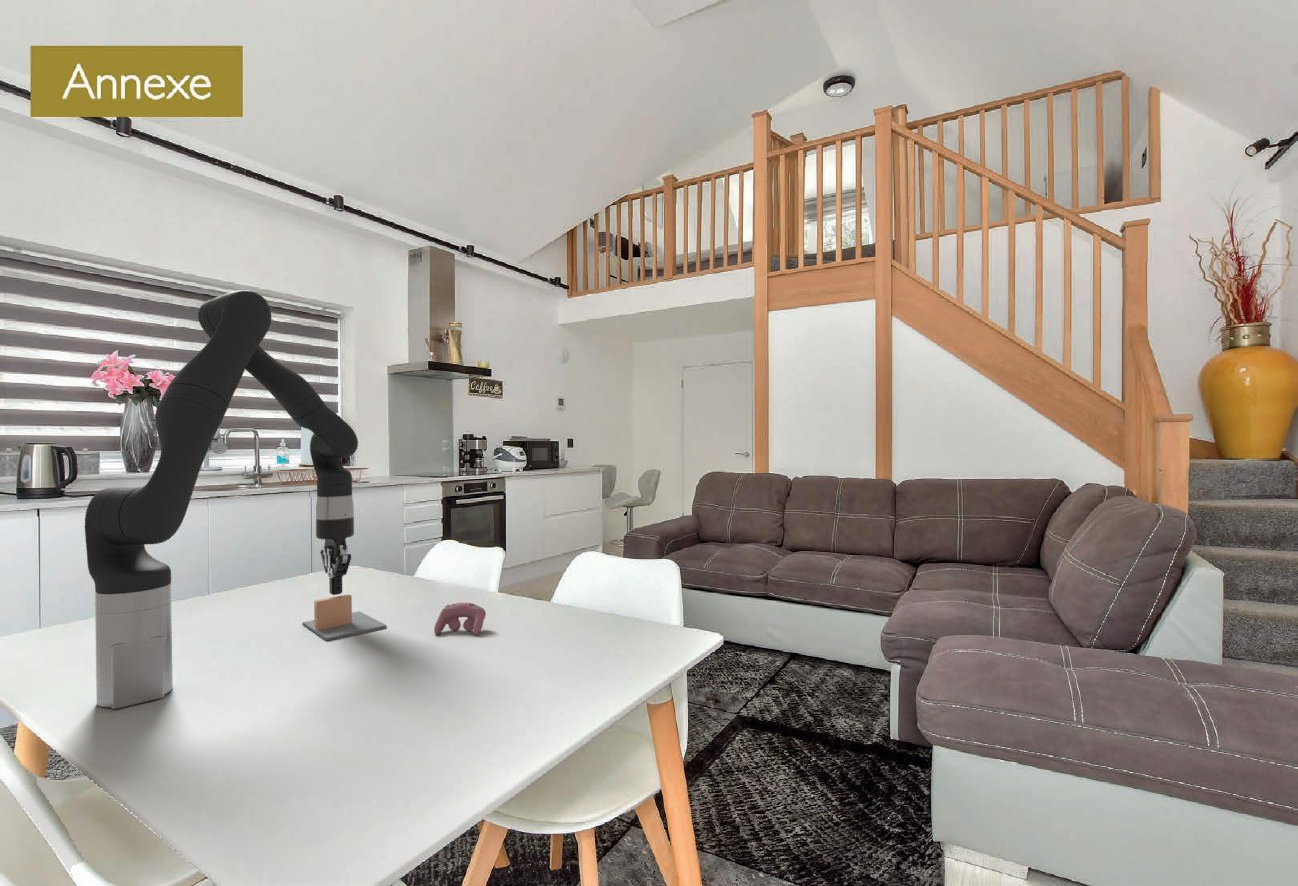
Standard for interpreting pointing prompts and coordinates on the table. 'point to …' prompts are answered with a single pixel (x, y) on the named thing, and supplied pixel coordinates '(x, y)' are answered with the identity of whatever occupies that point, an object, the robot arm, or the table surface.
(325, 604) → the tile
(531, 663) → the table surface
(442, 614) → the video game controller
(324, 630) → the mat
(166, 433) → the robot arm
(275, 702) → the table surface
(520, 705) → the table surface
